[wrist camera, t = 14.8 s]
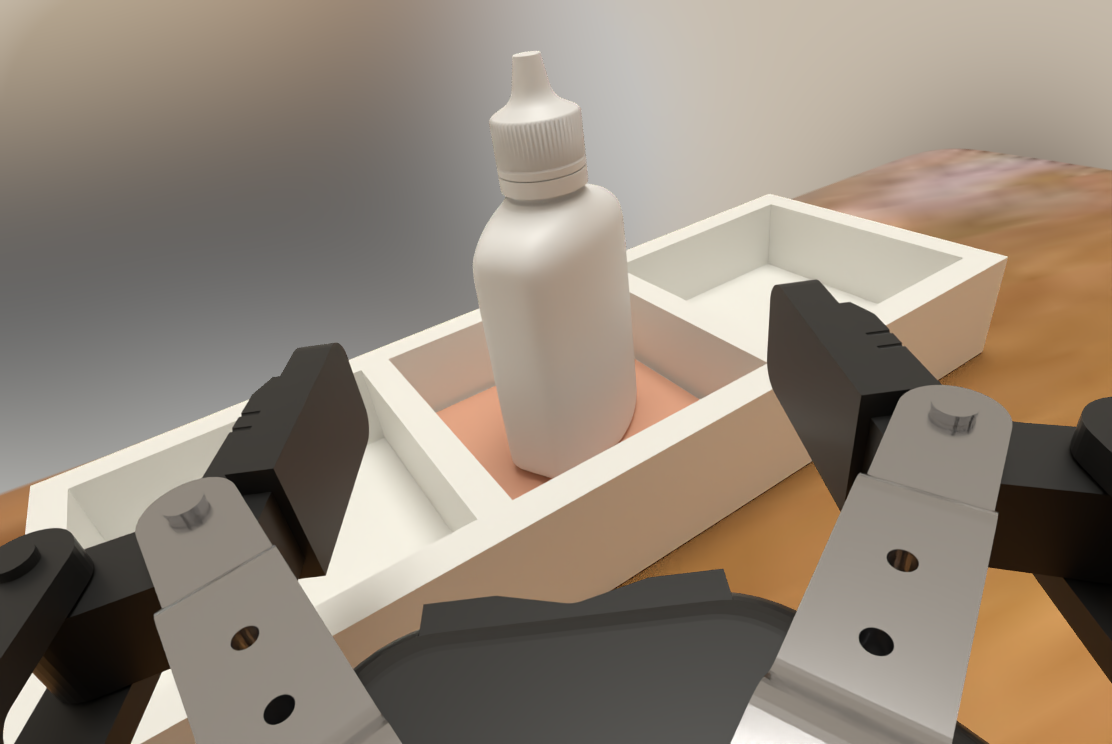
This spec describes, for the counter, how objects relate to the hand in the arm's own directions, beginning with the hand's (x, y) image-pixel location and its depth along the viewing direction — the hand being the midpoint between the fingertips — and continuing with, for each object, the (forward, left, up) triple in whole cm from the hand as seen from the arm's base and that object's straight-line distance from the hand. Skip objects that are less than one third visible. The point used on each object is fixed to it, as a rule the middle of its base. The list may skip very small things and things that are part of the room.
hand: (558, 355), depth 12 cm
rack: (0, -8, -9) cm, 12 cm away
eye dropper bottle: (0, -8, -8) cm, 11 cm away
